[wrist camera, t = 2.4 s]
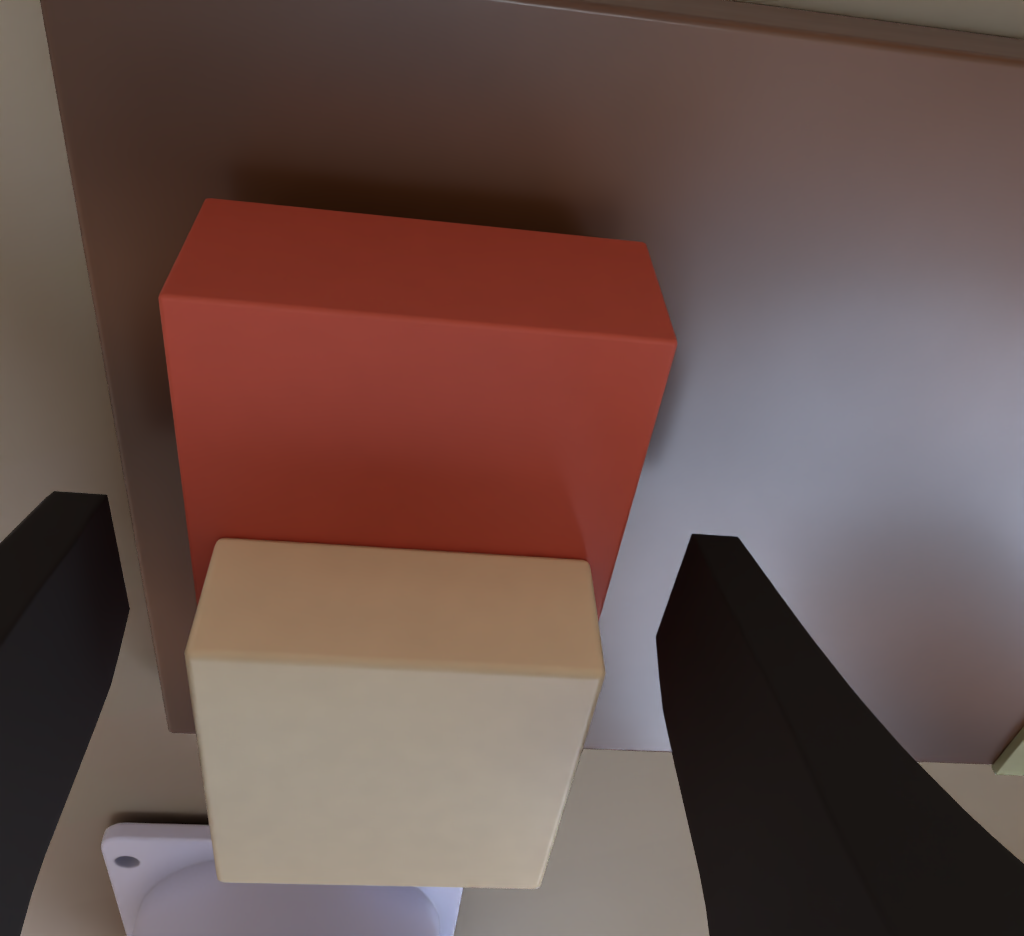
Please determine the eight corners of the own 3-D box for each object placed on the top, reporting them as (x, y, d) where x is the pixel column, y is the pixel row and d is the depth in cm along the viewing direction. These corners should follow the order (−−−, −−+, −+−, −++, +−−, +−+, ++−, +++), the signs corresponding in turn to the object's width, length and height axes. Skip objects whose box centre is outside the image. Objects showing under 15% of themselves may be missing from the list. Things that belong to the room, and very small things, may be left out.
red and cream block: (526, 682, 17) (543, 954, 13) (258, 670, 16) (202, 950, 13) (633, 200, 11) (716, 453, 7) (223, 156, 10) (102, 407, 7)
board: (1230, 735, 20) (1266, 785, 20) (179, 689, 18) (164, 744, 17) (1848, 147, 12) (1961, 185, 11) (58, -91, 10) (15, -66, 9)
